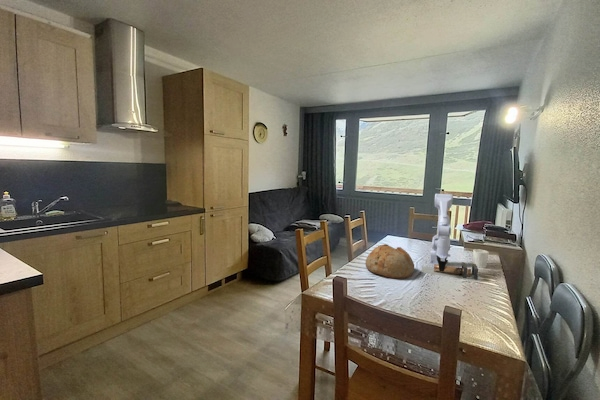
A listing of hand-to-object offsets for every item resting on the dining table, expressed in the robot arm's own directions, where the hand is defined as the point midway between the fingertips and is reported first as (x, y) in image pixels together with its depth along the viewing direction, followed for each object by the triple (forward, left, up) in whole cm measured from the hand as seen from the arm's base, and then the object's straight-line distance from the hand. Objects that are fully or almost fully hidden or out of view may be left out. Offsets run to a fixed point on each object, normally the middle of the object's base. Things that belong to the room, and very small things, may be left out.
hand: (441, 269), depth 158 cm
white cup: (+22, +21, -2) cm, 30 cm away
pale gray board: (+4, 0, -2) cm, 5 cm away
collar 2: (+16, 0, -1) cm, 16 cm away
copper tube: (+5, 0, -1) cm, 5 cm away
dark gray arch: (+11, 0, -1) cm, 11 cm away
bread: (-27, -10, -2) cm, 29 cm away
